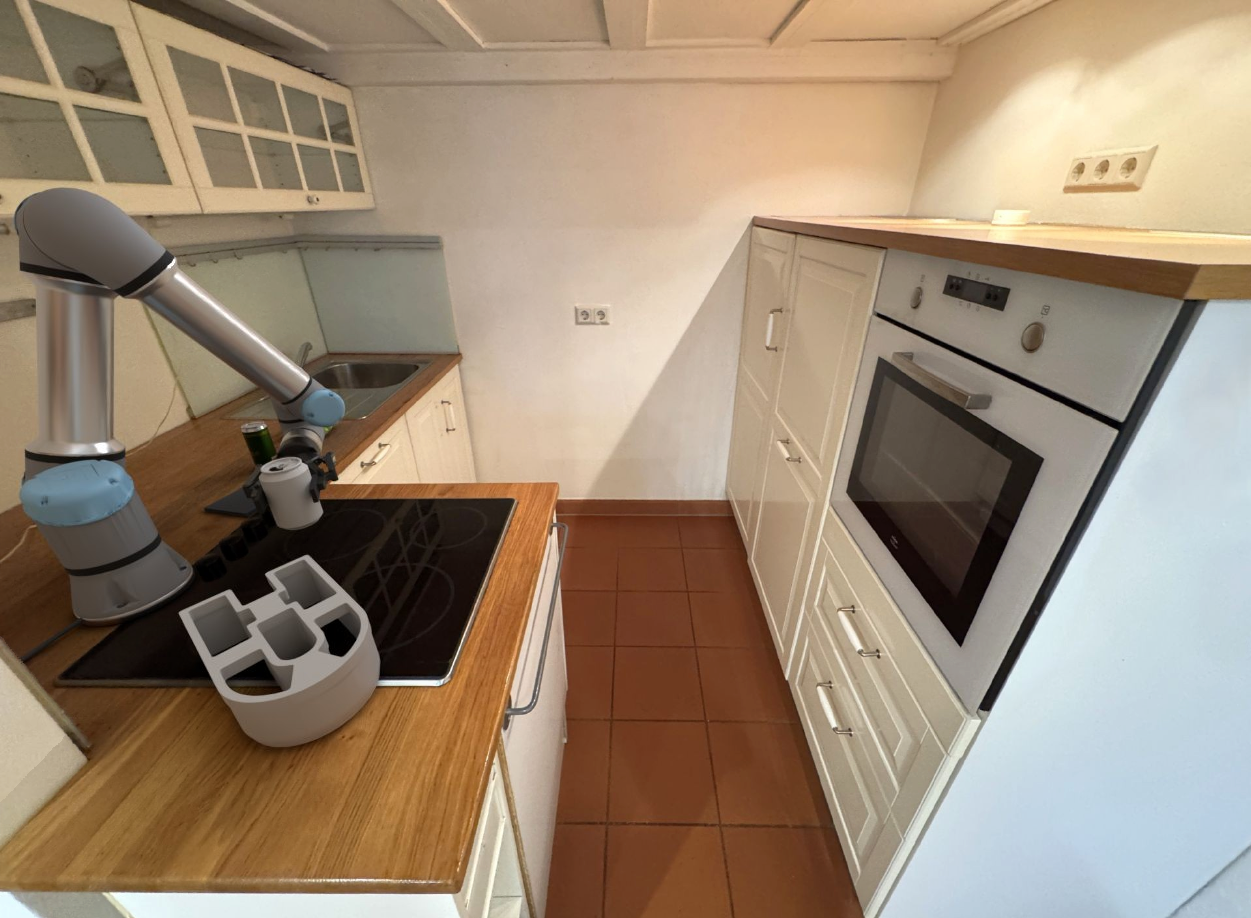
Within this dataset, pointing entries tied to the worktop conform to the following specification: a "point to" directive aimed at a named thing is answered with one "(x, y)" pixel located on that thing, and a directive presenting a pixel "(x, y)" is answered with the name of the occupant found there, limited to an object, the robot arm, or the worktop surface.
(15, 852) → the worktop surface
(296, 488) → the can
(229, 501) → the mat
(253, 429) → the beer can
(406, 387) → the worktop surface
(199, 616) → the desk organizer caddy
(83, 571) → the robot arm
